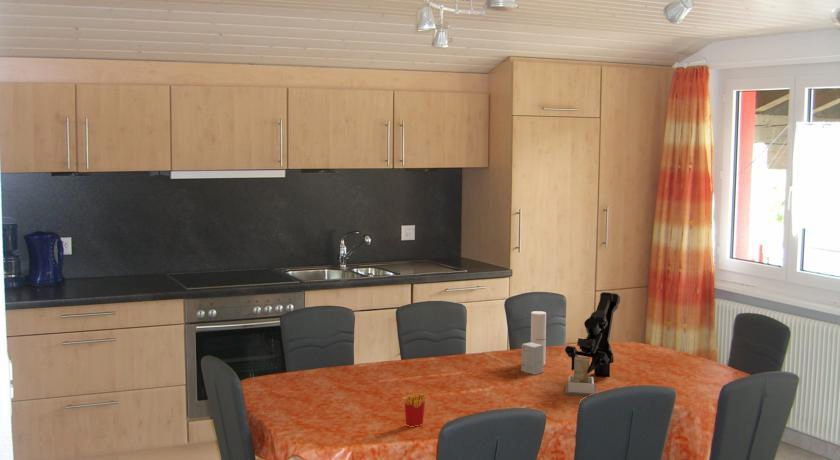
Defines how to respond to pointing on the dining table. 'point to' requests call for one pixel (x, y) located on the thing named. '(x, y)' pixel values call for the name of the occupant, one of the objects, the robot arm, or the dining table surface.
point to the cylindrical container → (539, 329)
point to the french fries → (414, 409)
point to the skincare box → (581, 370)
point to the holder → (580, 387)
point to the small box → (532, 358)
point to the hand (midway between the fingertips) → (579, 371)
